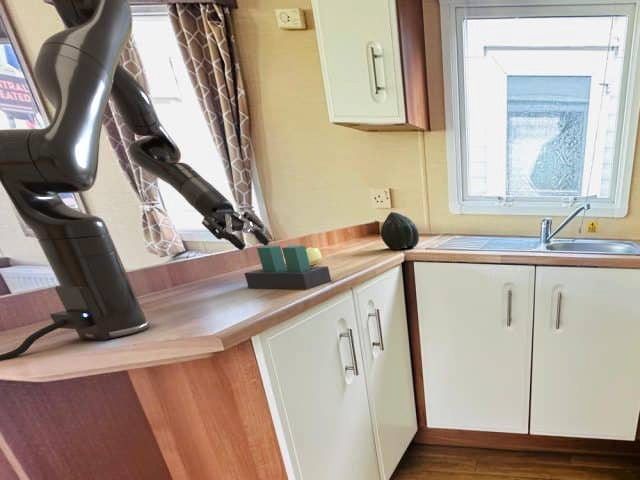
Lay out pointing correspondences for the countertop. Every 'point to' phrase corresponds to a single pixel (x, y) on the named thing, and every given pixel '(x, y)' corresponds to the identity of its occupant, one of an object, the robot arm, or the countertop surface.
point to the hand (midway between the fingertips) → (255, 245)
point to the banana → (313, 255)
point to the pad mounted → (296, 258)
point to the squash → (399, 232)
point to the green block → (271, 258)
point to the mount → (288, 278)
